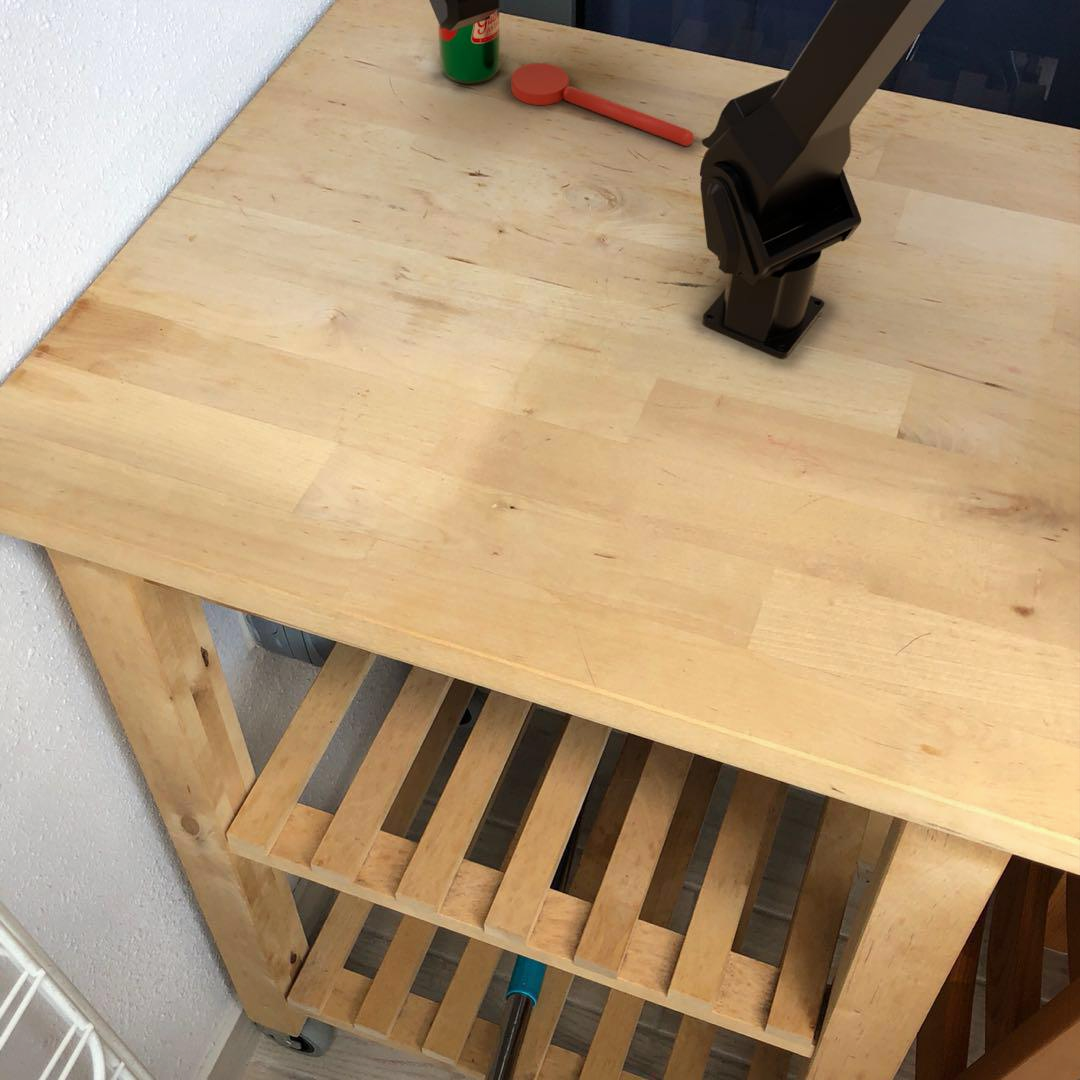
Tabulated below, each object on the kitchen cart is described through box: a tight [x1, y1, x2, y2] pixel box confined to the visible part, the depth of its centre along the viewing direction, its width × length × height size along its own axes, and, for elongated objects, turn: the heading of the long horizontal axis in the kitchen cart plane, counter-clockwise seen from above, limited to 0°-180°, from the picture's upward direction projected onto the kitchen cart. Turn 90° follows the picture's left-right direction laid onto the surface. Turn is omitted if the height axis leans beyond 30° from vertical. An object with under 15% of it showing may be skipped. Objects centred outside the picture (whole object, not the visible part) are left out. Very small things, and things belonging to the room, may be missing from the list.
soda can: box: [437, 8, 501, 85], centre depth 97 cm, size 5×5×12 cm
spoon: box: [510, 62, 695, 147], centre depth 97 cm, size 17×5×1 cm, turn 57°
